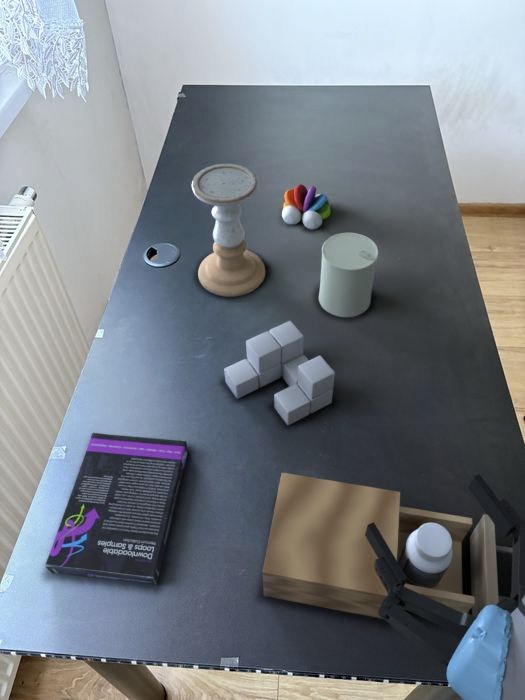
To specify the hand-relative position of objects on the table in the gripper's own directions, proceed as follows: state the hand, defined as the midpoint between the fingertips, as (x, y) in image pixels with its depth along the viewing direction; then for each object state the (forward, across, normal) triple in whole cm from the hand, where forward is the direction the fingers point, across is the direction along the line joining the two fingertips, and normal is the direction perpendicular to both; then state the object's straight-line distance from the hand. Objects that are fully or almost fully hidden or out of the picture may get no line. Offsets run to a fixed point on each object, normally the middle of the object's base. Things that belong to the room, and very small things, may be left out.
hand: (422, 503), depth 66 cm
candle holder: (+57, -1, -14) cm, 59 cm away
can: (+42, +15, -14) cm, 47 cm away
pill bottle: (-3, 0, -12) cm, 12 cm away
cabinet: (+3, -9, -14) cm, 16 cm away
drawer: (-5, +3, -13) cm, 14 cm away
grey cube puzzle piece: (+29, -4, -14) cm, 32 cm away
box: (+20, -31, -14) cm, 40 cm away
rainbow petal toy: (+66, +19, -14) cm, 70 cm away
